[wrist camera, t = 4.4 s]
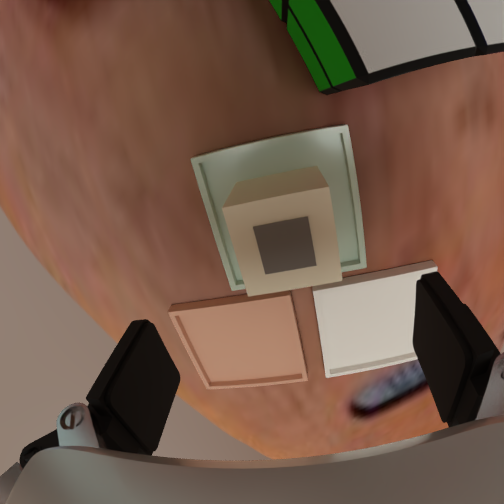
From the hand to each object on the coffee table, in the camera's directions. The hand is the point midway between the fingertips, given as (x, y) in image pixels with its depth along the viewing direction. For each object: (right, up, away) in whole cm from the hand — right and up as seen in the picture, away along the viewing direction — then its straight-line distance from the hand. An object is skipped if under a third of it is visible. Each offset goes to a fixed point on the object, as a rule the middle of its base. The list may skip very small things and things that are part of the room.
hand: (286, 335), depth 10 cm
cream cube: (+1, +5, +9) cm, 11 cm away
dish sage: (+1, +5, +10) cm, 11 cm away
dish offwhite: (+9, -3, +13) cm, 16 cm away
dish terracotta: (-2, -5, +15) cm, 16 cm away
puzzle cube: (+5, +18, +3) cm, 19 cm away
